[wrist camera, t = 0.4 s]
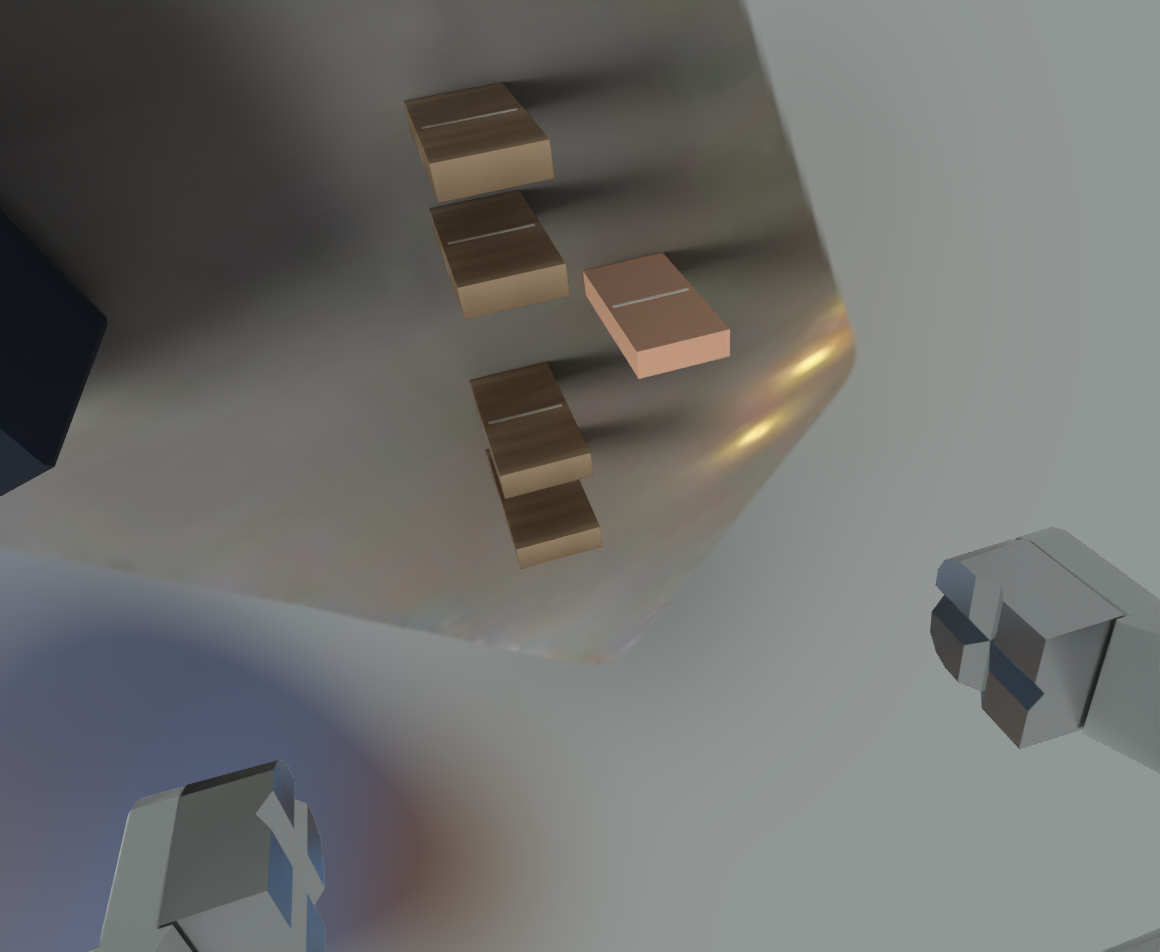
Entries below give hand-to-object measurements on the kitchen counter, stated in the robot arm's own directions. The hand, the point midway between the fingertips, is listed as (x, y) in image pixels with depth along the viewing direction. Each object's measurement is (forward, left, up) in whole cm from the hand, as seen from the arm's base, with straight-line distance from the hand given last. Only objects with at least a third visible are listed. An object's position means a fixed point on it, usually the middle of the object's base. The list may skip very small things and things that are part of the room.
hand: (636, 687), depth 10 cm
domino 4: (+25, +3, -39) cm, 46 cm away
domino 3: (+20, +3, -39) cm, 43 cm away
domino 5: (+14, +11, -39) cm, 43 cm away
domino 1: (+3, +3, -39) cm, 39 cm away
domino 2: (+9, +3, -39) cm, 40 cm away
